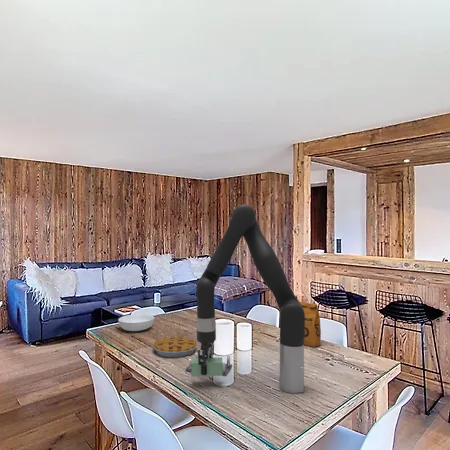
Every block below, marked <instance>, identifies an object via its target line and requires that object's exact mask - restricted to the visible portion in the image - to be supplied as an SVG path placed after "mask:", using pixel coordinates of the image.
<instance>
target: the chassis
mask: <svg viewBox="0 0 450 450" xmlns="http://www.w3.org/2000/svg"><path fill="white" fill-rule="evenodd" d="M194 358H198V351H194ZM191 362H192V358H188V365H187V367H186V368H185V372H189V373H191ZM222 366H223V376H222V377H227V376H228V374H229V372H230V371H231V369H232V368H233V364H231V355H226V362H225V361H224V362H223V361H222Z"/></svg>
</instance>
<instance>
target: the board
mask: <svg viewBox="0 0 450 450" xmlns="http://www.w3.org/2000/svg"><path fill="white" fill-rule="evenodd" d="M191 359H192V362H191V372H190V373H191V377H218V376H219V377H221V376H222V377H224V376H223V366H222V363H223V357H213V358H209V359H208V360H207V374H206V375H201V365H199V364H198V358H195V357H192V358H191ZM202 362H203V361H202Z"/></svg>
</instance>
